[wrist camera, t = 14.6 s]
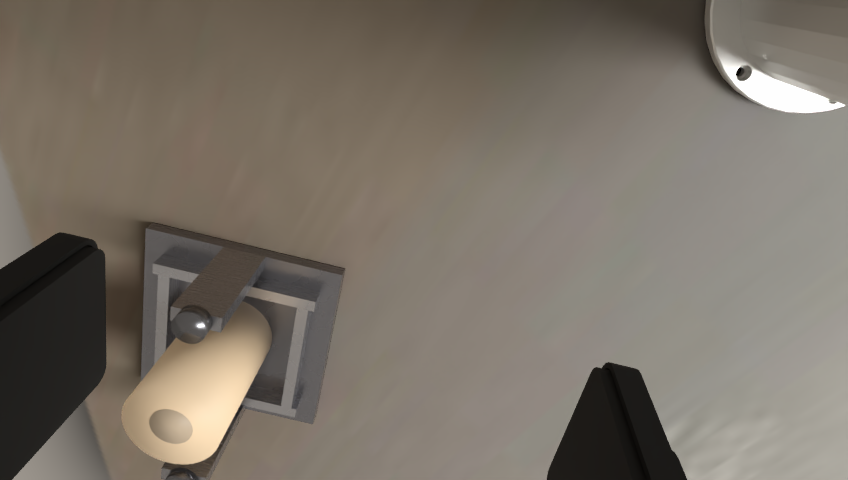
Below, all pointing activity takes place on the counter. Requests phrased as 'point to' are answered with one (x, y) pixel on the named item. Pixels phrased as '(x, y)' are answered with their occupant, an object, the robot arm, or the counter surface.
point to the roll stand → (216, 303)
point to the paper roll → (197, 390)
